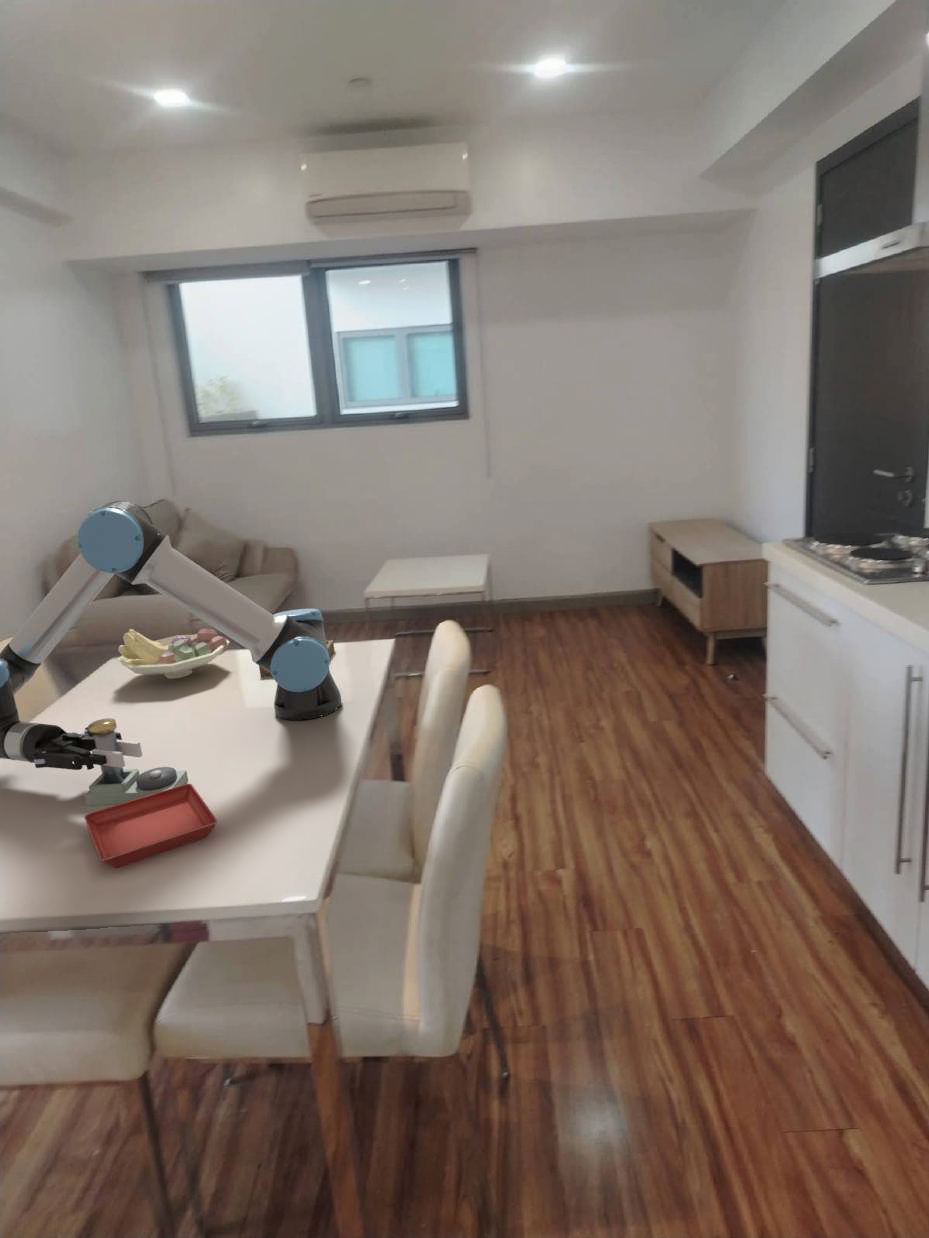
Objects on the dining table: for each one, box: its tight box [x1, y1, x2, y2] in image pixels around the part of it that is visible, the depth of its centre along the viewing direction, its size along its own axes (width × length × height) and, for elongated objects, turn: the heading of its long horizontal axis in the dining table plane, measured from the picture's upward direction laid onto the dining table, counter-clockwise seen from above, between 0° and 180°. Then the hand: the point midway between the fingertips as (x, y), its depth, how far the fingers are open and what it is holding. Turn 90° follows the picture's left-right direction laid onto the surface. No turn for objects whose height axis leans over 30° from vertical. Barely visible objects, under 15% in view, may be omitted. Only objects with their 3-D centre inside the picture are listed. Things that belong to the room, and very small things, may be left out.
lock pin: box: [87, 717, 125, 785], centre depth 146 cm, size 5×5×12 cm
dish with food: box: [117, 628, 230, 680], centre depth 212 cm, size 28×28×14 cm
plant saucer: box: [84, 783, 218, 868], centre depth 133 cm, size 18×18×3 cm
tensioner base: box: [83, 766, 189, 807], centre depth 147 cm, size 16×8×4 cm, turn 88°
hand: (130, 754), depth 144 cm, fingers closed on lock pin, 3 cm apart
